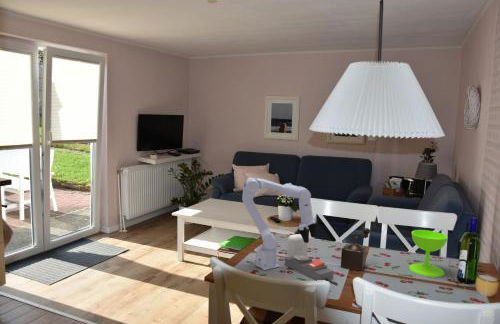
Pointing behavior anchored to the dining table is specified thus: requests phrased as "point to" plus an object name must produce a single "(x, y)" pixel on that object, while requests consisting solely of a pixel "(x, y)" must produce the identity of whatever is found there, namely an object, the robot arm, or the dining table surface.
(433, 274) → the wineglass
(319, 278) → the power strip
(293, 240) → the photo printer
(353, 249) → the manual coffee grinder
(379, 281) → the dining table surface
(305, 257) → the grey rocker
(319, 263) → the red rocker
